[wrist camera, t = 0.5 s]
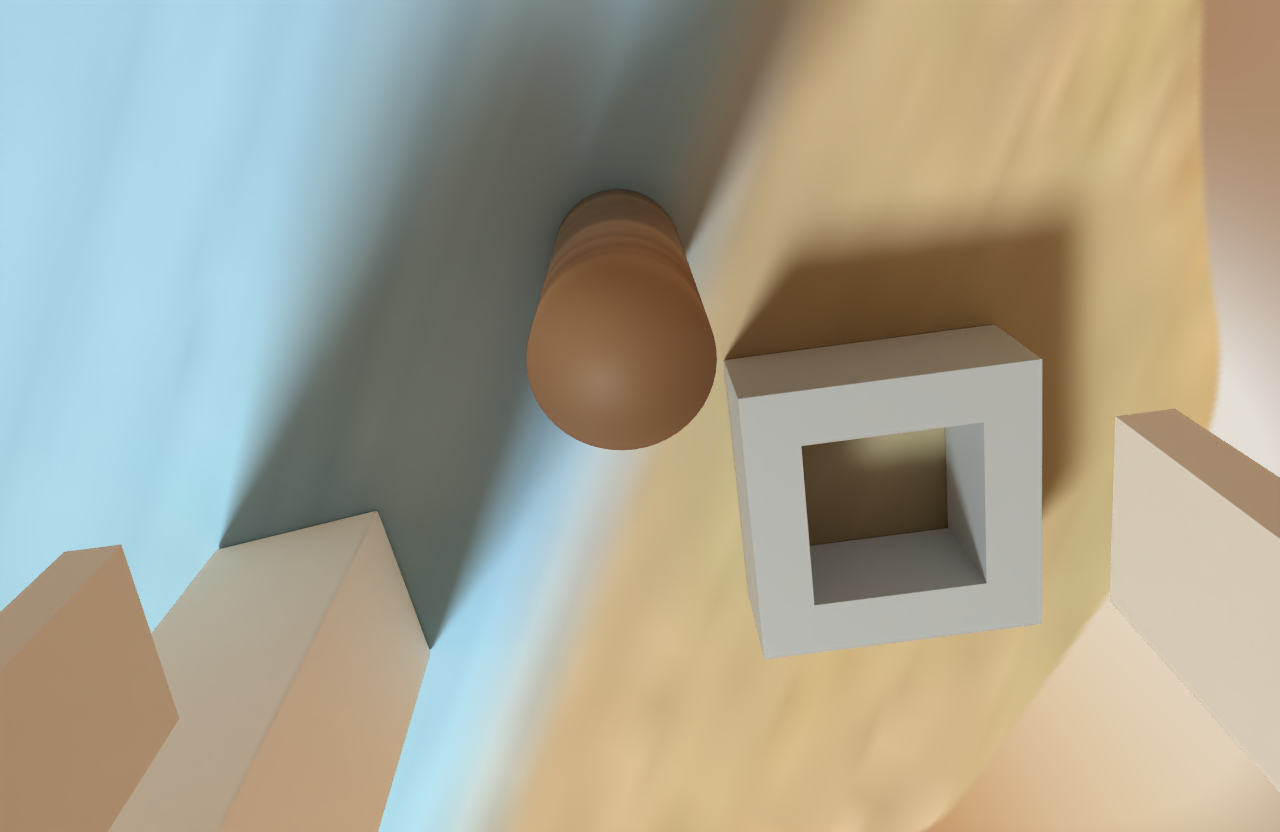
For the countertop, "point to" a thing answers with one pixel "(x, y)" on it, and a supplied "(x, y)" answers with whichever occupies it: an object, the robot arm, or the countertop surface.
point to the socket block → (905, 563)
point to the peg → (620, 327)
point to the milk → (285, 687)
